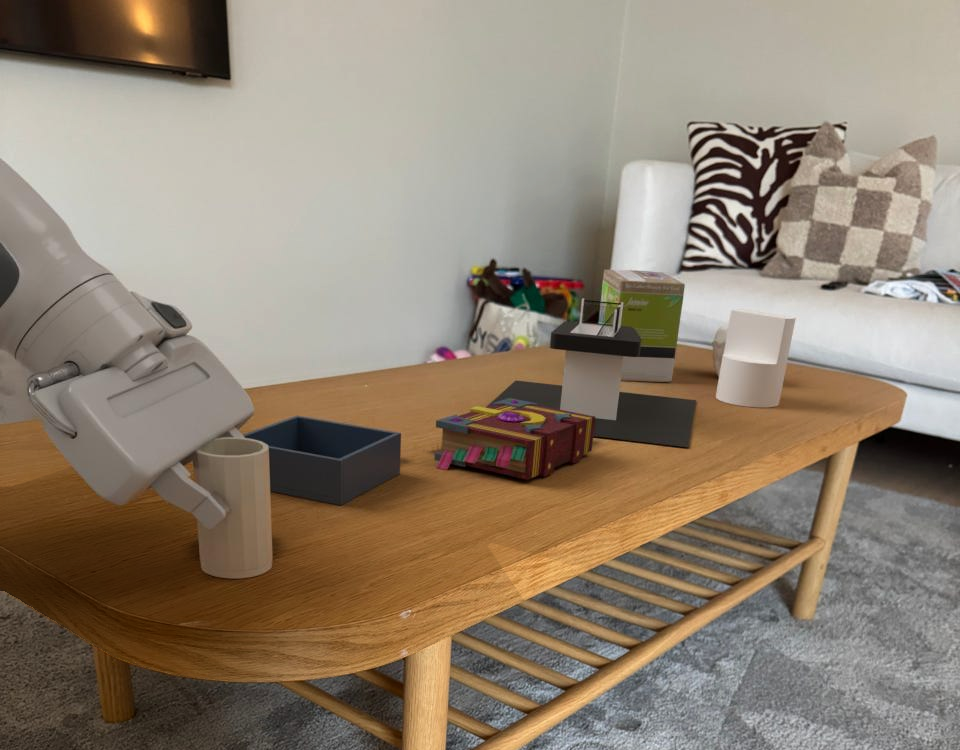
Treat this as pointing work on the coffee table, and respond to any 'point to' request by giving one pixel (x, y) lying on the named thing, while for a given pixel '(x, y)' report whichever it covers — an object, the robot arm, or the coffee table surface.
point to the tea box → (646, 319)
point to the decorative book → (515, 438)
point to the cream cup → (236, 507)
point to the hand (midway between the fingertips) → (242, 503)
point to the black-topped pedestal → (606, 384)
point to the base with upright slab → (754, 358)
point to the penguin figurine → (719, 346)
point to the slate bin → (328, 458)
